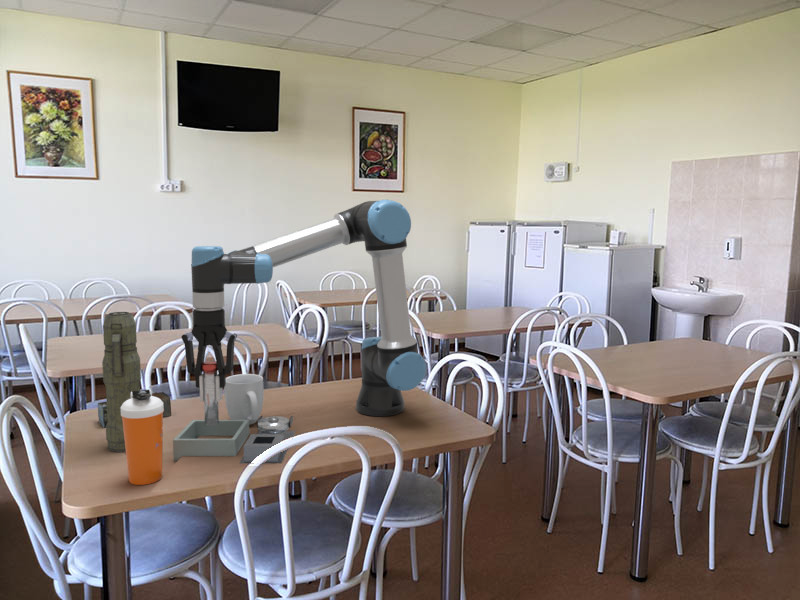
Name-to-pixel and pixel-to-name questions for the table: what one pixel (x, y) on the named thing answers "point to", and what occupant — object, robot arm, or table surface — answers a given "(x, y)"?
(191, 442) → the rectangular frame
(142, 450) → the shaker bottle
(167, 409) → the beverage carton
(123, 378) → the thermos
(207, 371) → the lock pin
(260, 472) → the table surface
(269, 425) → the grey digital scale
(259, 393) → the mug
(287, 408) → the table surface
